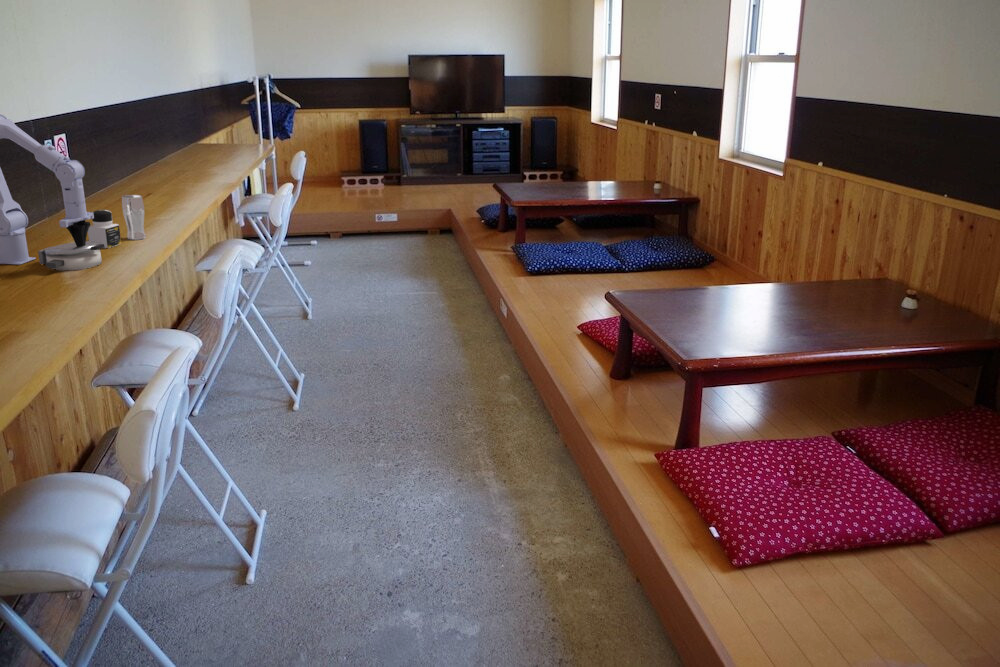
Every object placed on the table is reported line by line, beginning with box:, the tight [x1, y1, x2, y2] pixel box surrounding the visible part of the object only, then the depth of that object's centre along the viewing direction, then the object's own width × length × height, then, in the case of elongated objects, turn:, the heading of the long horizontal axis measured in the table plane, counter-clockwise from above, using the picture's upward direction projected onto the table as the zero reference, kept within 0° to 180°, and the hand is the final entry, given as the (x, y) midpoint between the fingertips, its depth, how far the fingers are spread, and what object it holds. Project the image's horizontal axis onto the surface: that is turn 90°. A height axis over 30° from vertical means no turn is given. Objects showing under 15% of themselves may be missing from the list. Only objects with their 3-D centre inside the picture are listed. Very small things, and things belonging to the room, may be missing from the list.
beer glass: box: [121, 194, 147, 241], centre depth 278 cm, size 7×7×15 cm
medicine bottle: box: [87, 209, 122, 249], centre depth 267 cm, size 7×7×12 cm
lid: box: [42, 240, 104, 256], centre depth 243 cm, size 17×15×1 cm
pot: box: [37, 246, 103, 271], centre depth 244 cm, size 17×23×4 cm
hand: (80, 246), depth 243 cm, fingers closed, pressing on lid
